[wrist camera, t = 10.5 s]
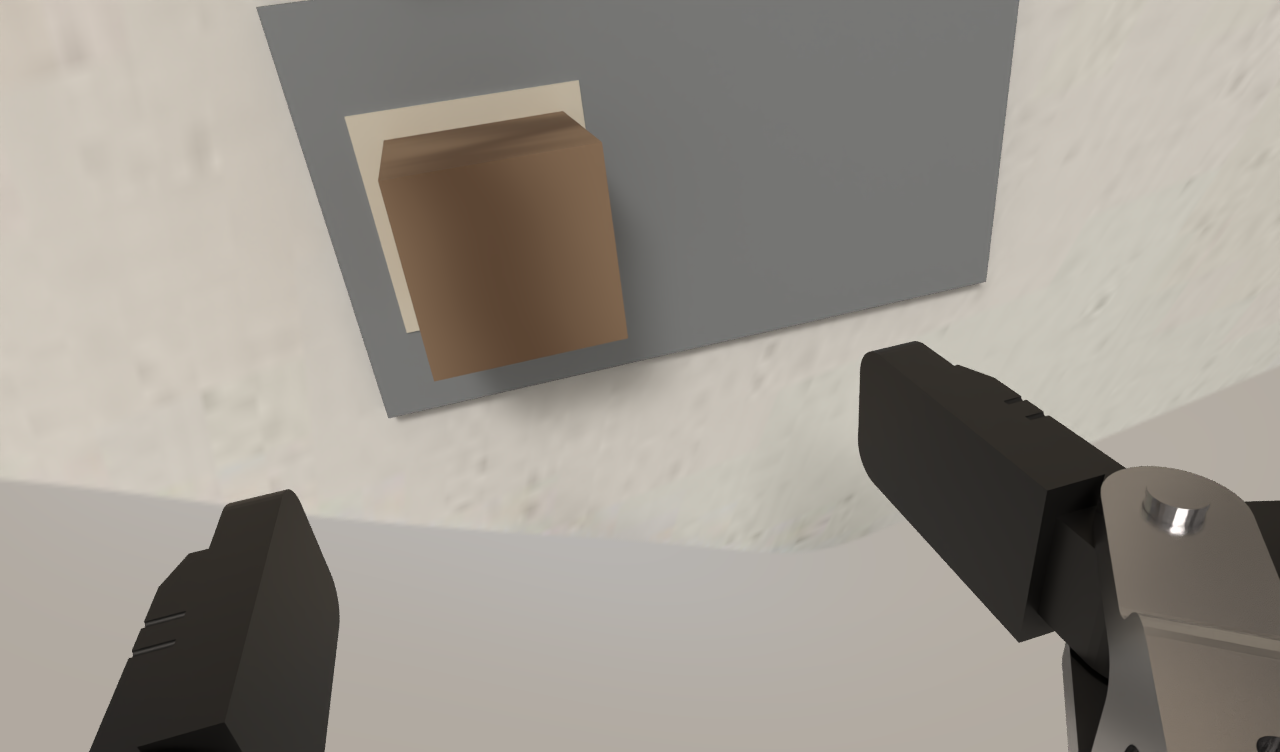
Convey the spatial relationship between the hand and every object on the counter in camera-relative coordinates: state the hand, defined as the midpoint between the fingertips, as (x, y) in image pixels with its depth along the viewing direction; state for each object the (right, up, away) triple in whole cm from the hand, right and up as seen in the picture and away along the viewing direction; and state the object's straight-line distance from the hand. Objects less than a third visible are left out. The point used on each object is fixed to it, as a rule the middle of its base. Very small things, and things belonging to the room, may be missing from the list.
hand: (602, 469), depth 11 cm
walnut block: (-4, +6, +12) cm, 14 cm away
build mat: (+2, +8, +13) cm, 16 cm away
